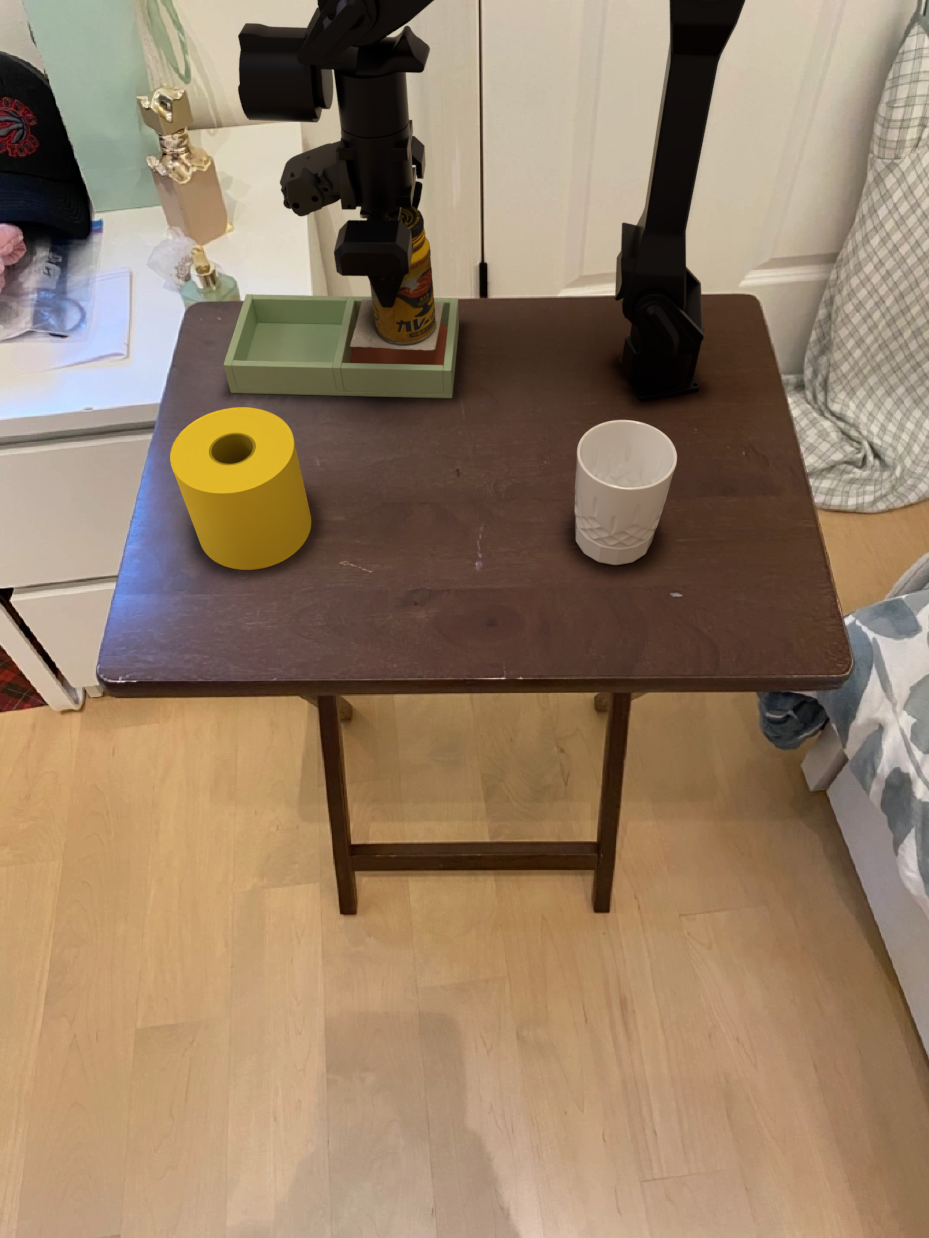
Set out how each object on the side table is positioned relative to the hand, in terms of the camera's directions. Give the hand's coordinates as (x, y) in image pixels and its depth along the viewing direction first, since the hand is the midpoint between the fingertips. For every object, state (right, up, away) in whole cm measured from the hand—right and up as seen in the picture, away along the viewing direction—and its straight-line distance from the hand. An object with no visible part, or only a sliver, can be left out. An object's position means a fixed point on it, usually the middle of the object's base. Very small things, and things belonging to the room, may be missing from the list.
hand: (390, 286), depth 90 cm
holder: (-5, -5, +7) cm, 10 cm away
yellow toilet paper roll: (-12, -24, -6) cm, 27 cm away
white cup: (+20, -25, -8) cm, 33 cm away
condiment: (0, -3, +4) cm, 5 cm away
